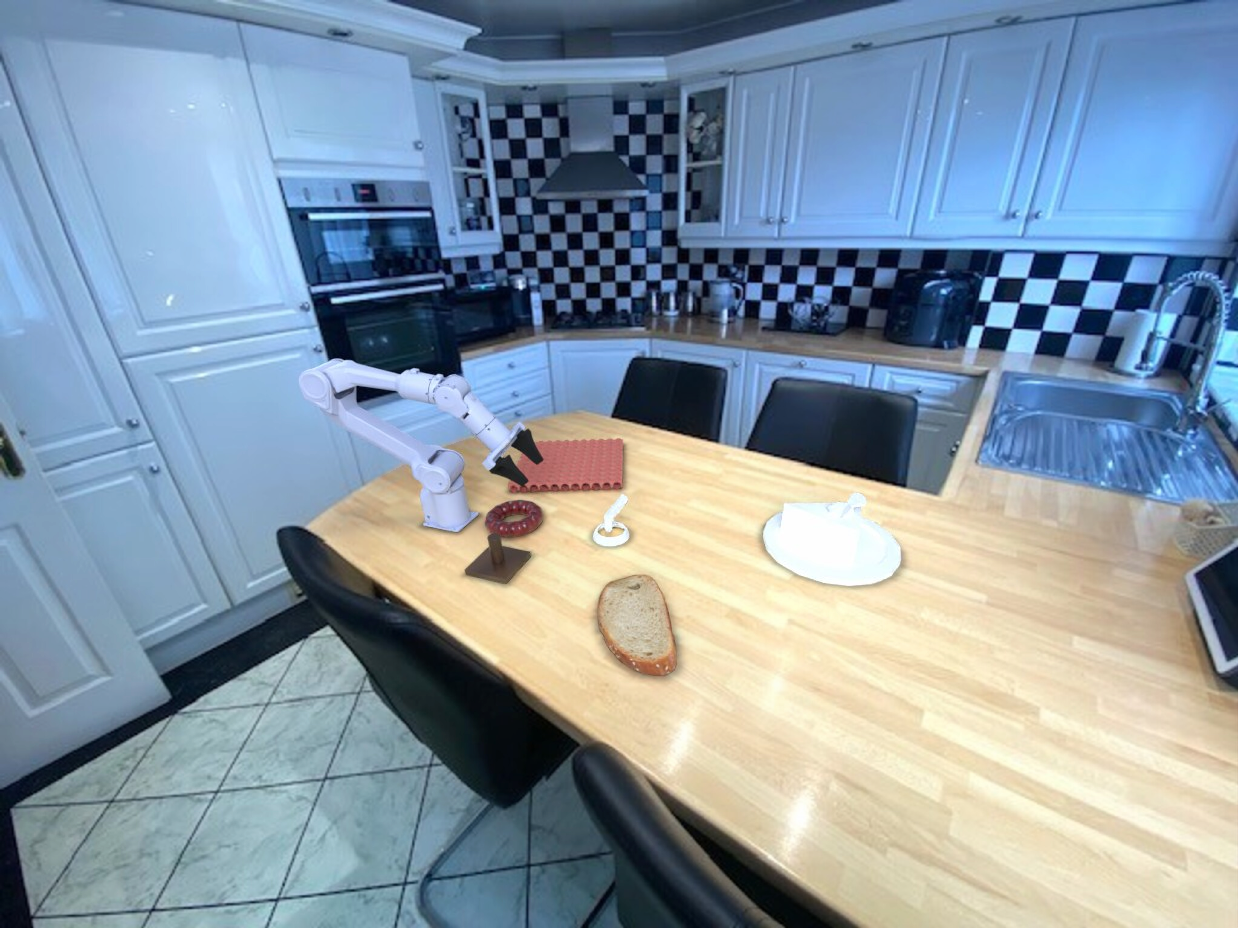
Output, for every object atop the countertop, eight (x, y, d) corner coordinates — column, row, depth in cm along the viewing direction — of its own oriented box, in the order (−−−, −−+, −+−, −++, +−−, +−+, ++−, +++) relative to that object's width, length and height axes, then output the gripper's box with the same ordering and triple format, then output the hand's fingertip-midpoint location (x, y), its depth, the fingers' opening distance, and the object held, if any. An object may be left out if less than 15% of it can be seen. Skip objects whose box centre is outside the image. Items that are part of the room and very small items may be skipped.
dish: (897, 524, 105) (908, 476, 100) (901, 600, 84) (915, 543, 79) (774, 503, 114) (779, 458, 109) (752, 566, 94) (756, 514, 89)
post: (465, 574, 95) (459, 545, 93) (492, 548, 103) (487, 520, 100) (506, 584, 92) (501, 554, 89) (531, 556, 100) (527, 527, 97)
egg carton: (622, 489, 123) (622, 482, 123) (508, 492, 124) (507, 485, 123) (623, 444, 149) (622, 438, 148) (528, 447, 150) (527, 441, 149)
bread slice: (665, 684, 71) (664, 665, 69) (563, 637, 80) (561, 619, 78) (714, 608, 84) (715, 590, 83) (622, 575, 93) (621, 558, 92)
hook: (653, 523, 99) (624, 511, 96) (619, 560, 105) (590, 550, 102) (647, 498, 105) (620, 486, 102) (615, 534, 111) (588, 523, 108)
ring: (474, 534, 108) (472, 521, 107) (506, 506, 118) (504, 494, 117) (525, 544, 104) (523, 531, 102) (553, 514, 114) (552, 502, 113)
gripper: (478, 436, 95) (529, 486, 99) (513, 399, 106) (558, 445, 110) (459, 452, 99) (509, 499, 103) (494, 415, 110) (538, 459, 114)
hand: (533, 472), depth 106 cm, fingers open, 7 cm apart
